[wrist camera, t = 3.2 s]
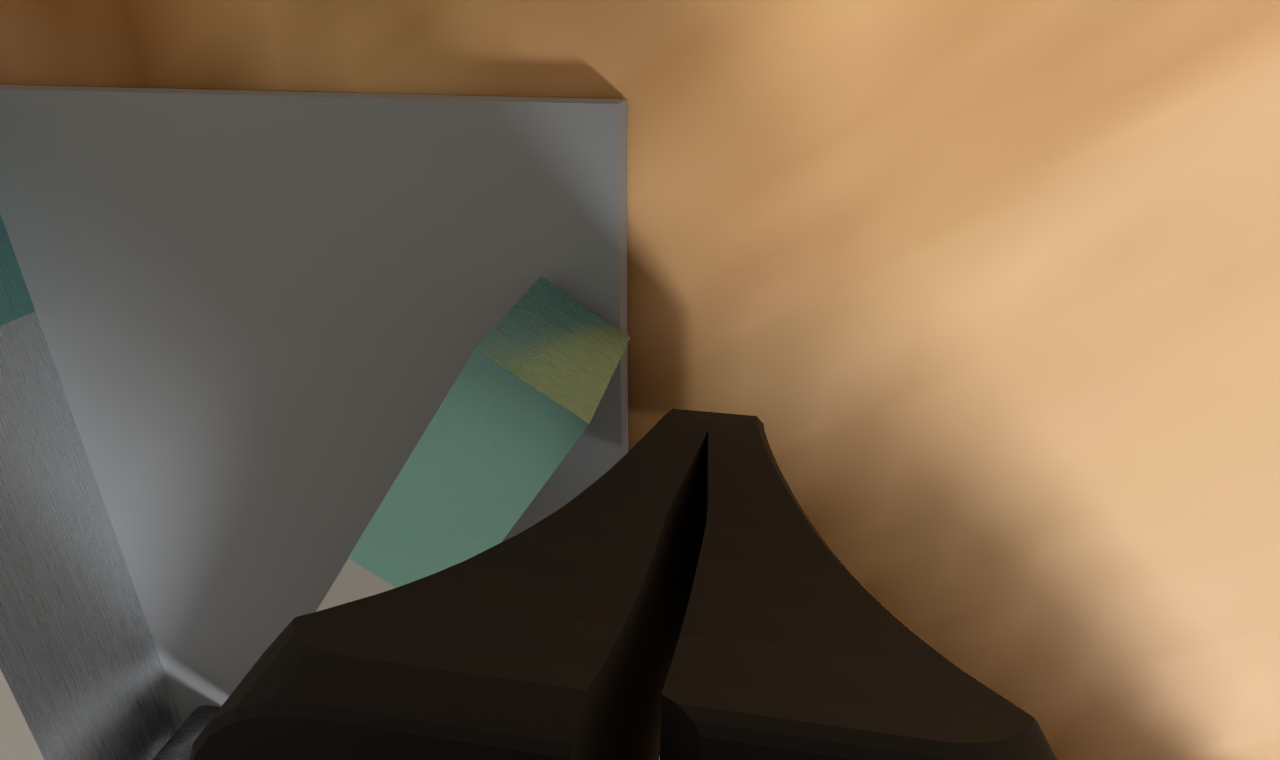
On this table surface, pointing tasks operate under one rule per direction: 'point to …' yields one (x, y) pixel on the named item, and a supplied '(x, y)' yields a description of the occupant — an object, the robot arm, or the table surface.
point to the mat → (291, 316)
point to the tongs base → (67, 579)
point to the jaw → (488, 443)
